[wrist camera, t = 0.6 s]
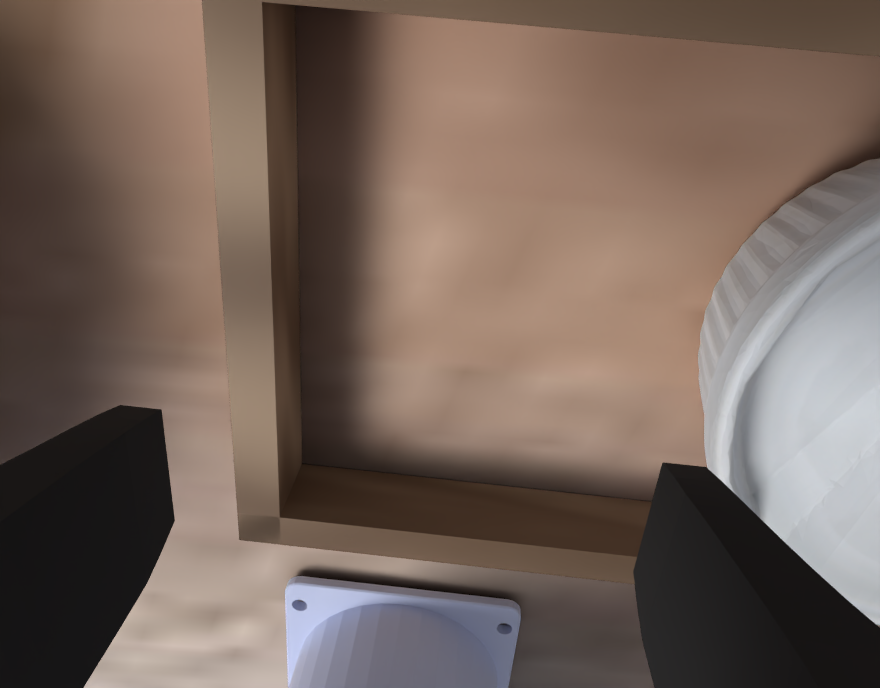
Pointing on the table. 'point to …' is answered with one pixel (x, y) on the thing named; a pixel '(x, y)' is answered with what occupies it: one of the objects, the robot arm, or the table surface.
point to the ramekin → (804, 379)
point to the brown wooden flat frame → (278, 304)
